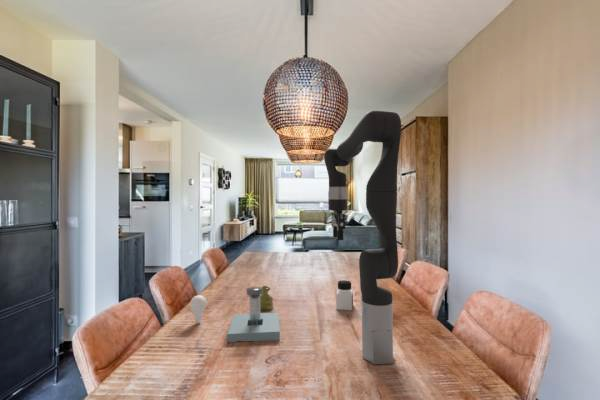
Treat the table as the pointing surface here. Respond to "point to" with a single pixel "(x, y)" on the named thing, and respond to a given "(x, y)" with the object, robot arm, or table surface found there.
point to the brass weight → (266, 300)
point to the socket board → (254, 328)
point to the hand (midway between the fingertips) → (338, 238)
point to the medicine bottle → (344, 296)
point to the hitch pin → (254, 304)
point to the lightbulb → (198, 307)
